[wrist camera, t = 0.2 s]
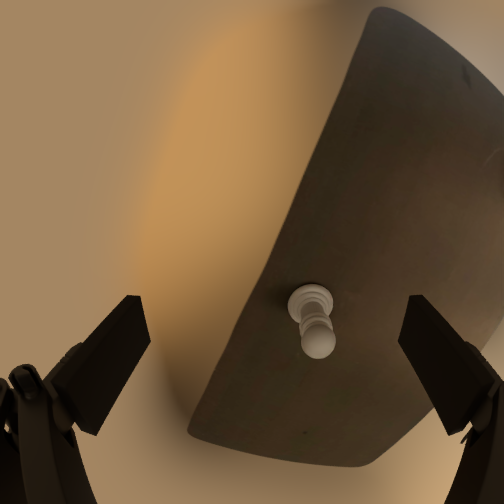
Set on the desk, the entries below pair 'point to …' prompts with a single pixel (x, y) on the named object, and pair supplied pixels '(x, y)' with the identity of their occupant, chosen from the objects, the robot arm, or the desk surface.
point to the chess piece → (313, 319)
